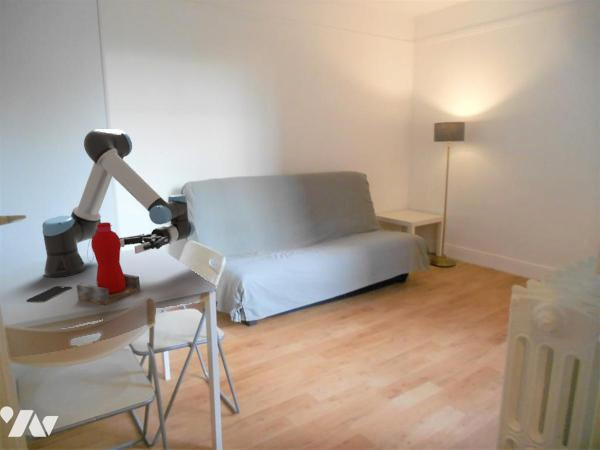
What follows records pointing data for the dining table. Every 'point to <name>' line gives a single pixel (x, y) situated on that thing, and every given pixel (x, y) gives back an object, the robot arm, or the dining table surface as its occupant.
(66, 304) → the dining table surface
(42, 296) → the smartphone
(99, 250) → the water bottle
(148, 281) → the dining table surface
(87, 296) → the bottle holder
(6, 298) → the dining table surface
